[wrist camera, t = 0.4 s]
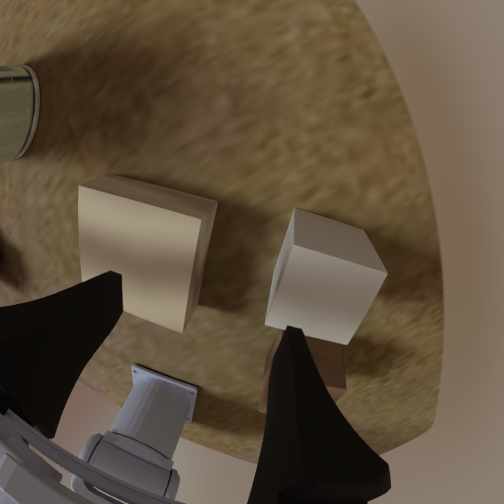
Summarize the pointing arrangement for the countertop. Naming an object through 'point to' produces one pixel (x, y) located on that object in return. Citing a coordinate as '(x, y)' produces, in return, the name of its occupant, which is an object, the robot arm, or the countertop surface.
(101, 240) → the birch base block
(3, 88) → the coffee can
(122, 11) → the countertop surface
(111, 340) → the countertop surface
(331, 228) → the off-white block
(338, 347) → the walnut block
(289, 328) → the robot arm
